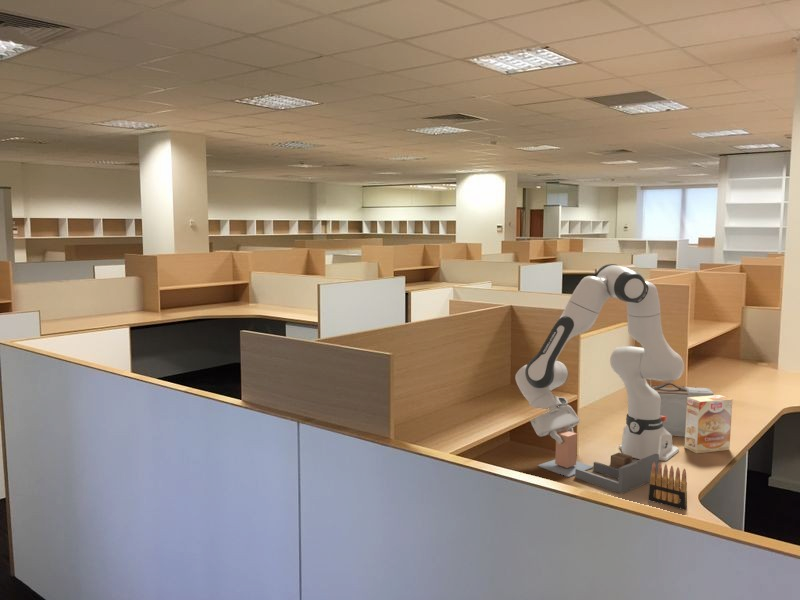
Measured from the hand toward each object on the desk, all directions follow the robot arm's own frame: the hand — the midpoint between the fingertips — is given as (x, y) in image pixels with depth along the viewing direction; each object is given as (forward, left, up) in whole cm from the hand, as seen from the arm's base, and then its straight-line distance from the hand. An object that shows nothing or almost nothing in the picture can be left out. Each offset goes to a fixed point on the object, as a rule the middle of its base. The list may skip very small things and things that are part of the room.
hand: (567, 441), depth 225 cm
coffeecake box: (-57, +20, -10) cm, 61 cm away
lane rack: (-5, +15, -9) cm, 19 cm away
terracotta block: (0, -1, -8) cm, 8 cm away
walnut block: (-10, +14, -9) cm, 20 cm away
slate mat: (0, -1, -9) cm, 9 cm away
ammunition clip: (+1, +37, -10) cm, 39 cm away
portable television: (-68, +2, -10) cm, 69 cm away
